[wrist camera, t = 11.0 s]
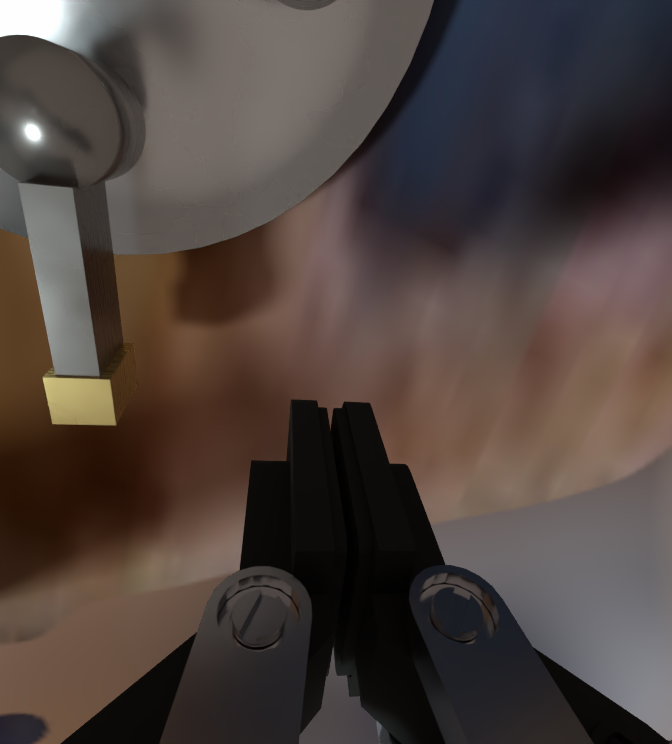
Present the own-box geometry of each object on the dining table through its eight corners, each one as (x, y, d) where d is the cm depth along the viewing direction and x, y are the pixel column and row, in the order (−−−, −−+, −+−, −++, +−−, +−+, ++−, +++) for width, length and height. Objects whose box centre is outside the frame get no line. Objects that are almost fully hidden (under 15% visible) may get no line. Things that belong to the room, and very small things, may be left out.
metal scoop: (15, 45, 12) (-71, 18, 9) (141, 63, 13) (99, 42, 10) (72, 369, 17) (27, 423, 14) (163, 372, 17) (140, 425, 14)
